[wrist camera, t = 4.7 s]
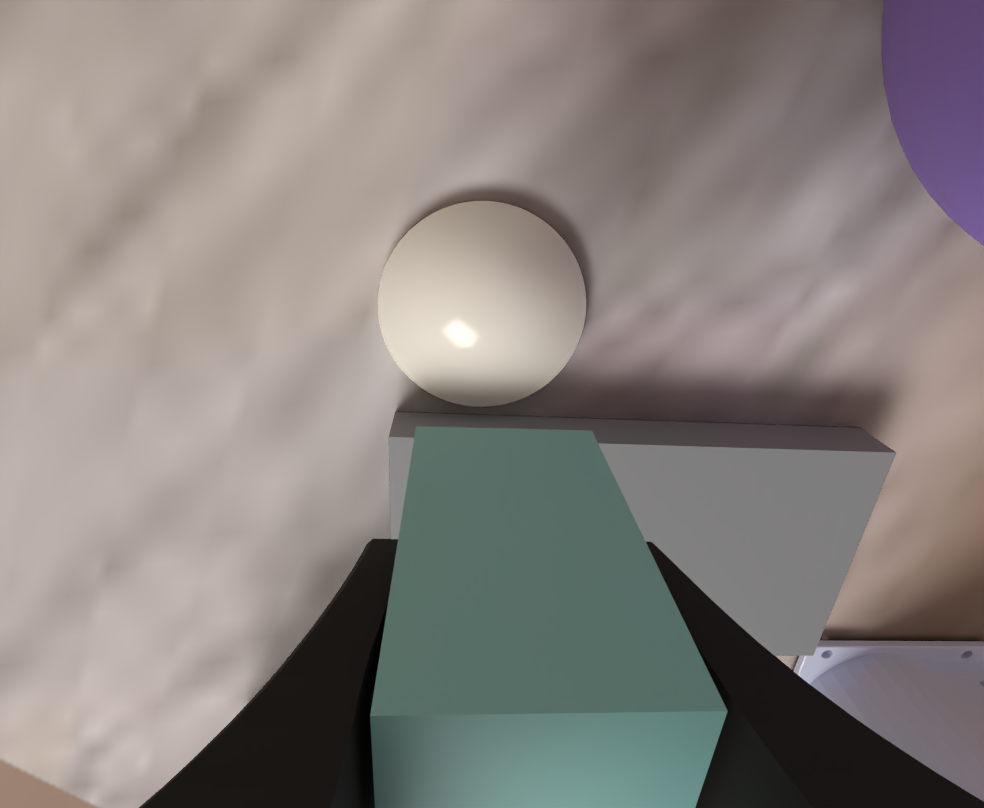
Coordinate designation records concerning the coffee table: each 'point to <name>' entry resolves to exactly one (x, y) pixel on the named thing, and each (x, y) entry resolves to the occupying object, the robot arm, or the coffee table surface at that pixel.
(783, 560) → the pocket board
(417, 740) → the peg
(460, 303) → the coaster
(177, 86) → the coffee table surface
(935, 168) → the decorative ball
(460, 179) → the coffee table surface
